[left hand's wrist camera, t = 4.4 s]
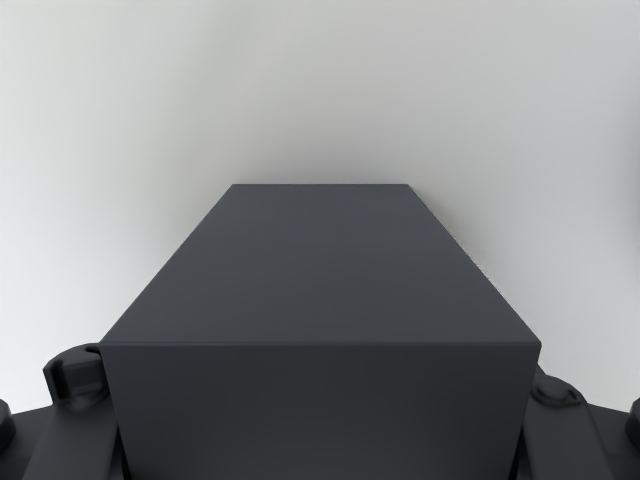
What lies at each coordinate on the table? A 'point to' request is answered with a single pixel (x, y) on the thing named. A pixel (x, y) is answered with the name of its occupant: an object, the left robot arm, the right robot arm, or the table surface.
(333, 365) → the box
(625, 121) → the table surface
